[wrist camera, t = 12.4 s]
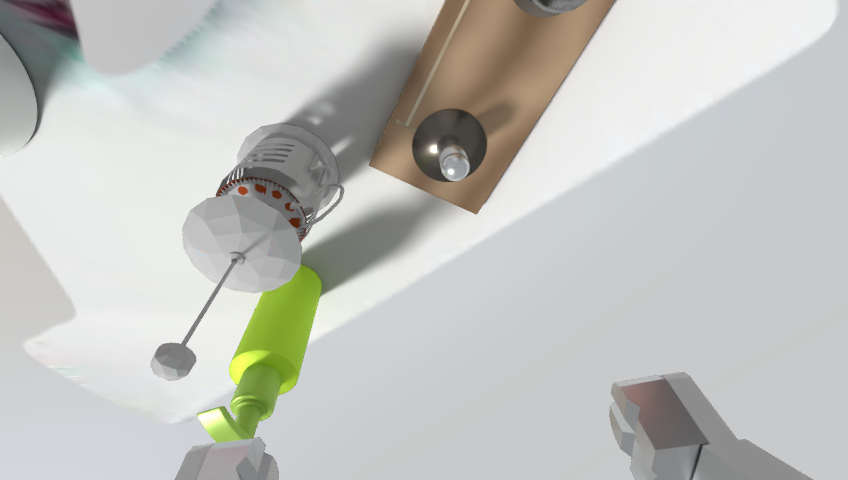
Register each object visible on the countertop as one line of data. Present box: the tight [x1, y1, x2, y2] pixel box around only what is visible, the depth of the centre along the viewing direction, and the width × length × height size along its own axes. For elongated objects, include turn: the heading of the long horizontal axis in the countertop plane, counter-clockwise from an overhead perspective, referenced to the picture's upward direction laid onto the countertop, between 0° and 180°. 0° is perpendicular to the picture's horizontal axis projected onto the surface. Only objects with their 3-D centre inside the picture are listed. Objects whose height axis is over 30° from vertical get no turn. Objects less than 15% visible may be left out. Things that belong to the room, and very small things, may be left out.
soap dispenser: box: [197, 264, 322, 443], centre depth 39 cm, size 6×7×20 cm
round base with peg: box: [412, 109, 487, 182], centre depth 37 cm, size 7×7×6 cm
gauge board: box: [369, 0, 615, 215], centre depth 36 cm, size 12×26×1 cm, turn 153°
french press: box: [150, 123, 344, 381], centre depth 30 cm, size 10×12×25 cm
